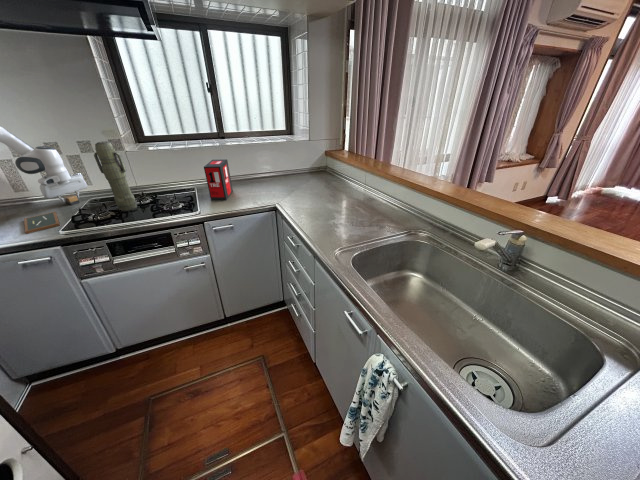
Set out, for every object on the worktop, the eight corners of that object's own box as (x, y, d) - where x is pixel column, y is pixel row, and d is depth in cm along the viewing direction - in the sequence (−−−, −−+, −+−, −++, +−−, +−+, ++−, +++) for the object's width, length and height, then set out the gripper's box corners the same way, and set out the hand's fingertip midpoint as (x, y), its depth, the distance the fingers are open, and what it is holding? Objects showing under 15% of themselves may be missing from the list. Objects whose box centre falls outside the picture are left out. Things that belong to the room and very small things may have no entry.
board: (25, 220, 135) (23, 218, 135) (56, 213, 143) (55, 211, 142) (26, 233, 123) (24, 231, 122) (60, 225, 130) (58, 223, 130)
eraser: (66, 203, 155) (62, 196, 153) (73, 201, 158) (70, 194, 156) (71, 205, 152) (68, 198, 150) (79, 202, 156) (76, 196, 154)
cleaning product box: (226, 200, 158) (219, 166, 148) (211, 200, 157) (203, 166, 147) (232, 190, 172) (227, 159, 162) (218, 191, 172) (212, 159, 162)
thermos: (137, 210, 146) (112, 143, 128) (113, 212, 144) (84, 144, 126) (142, 204, 153) (119, 140, 136) (119, 206, 151) (93, 141, 133)
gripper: (77, 171, 157) (88, 193, 164) (33, 181, 141) (47, 205, 148) (83, 172, 154) (94, 195, 161) (39, 182, 138) (53, 207, 145)
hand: (71, 200), depth 154 cm, fingers open, 5 cm apart
